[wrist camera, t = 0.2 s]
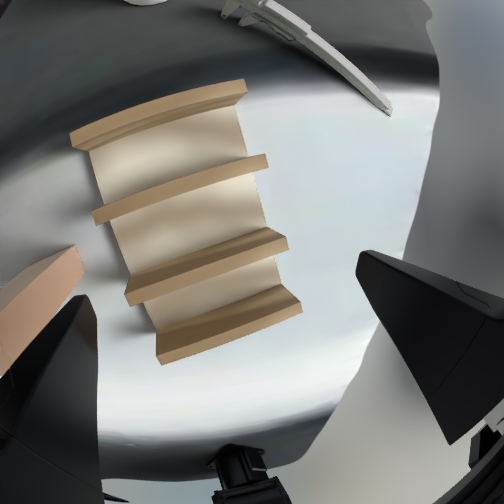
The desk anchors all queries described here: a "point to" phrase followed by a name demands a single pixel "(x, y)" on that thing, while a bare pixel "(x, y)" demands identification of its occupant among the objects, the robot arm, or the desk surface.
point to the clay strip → (35, 301)
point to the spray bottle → (145, 2)
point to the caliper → (306, 42)
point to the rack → (189, 218)
